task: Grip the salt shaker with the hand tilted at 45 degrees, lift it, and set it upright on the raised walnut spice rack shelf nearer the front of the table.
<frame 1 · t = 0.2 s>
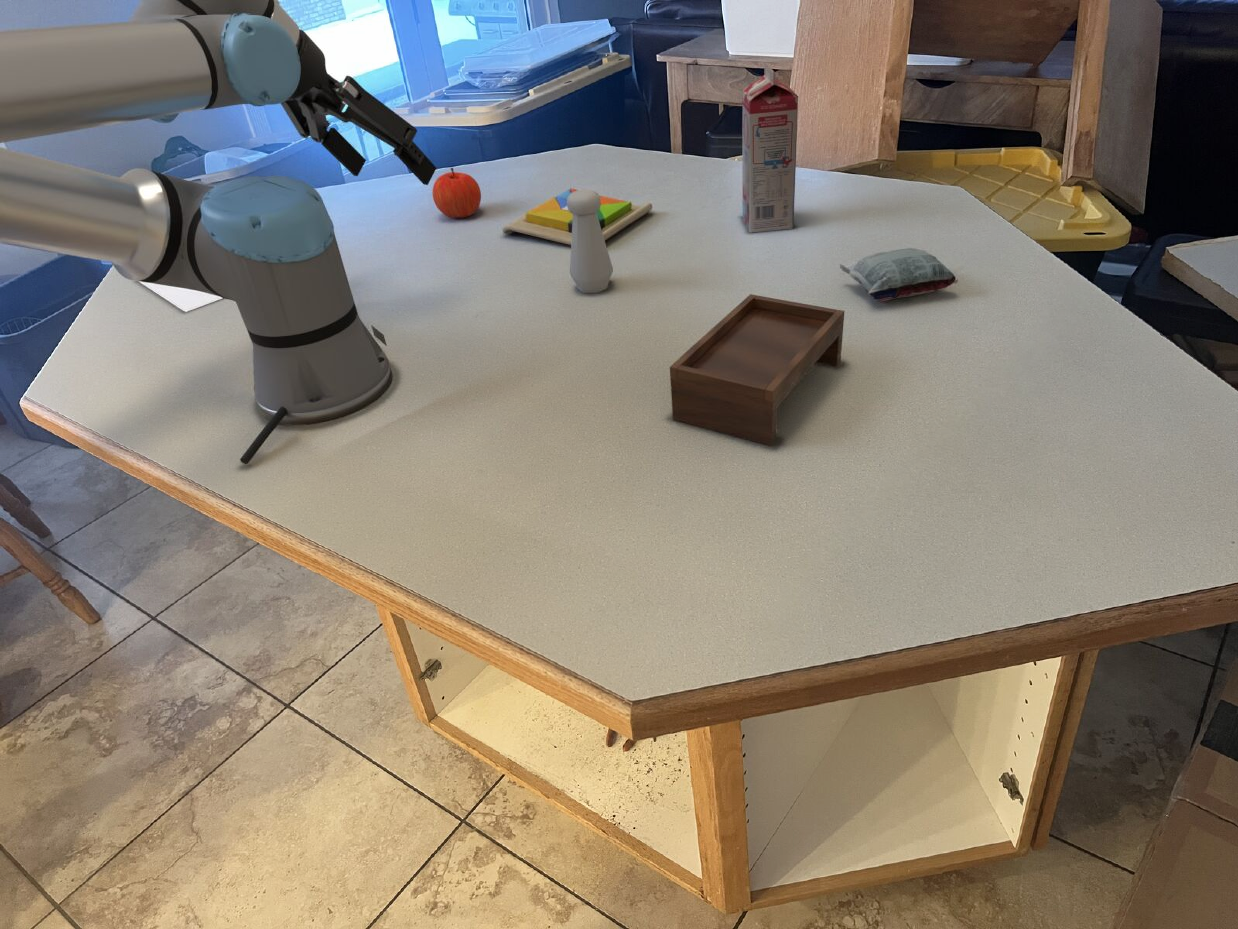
hand: (394, 172, 112), 15 cm above the table, tool tilted 35°, fingers open, 13 cm apart
juice carton: (767, 224, 126), on the table
salt shaker: (593, 288, 113), on the table
packaged food: (895, 291, 104), on the table
wooden puzzle: (578, 226, 133), on the table
teacup and saucer: (223, 273, 130), on the table
apple: (461, 216, 142), on the table
spice rack: (759, 389, 87), on the table
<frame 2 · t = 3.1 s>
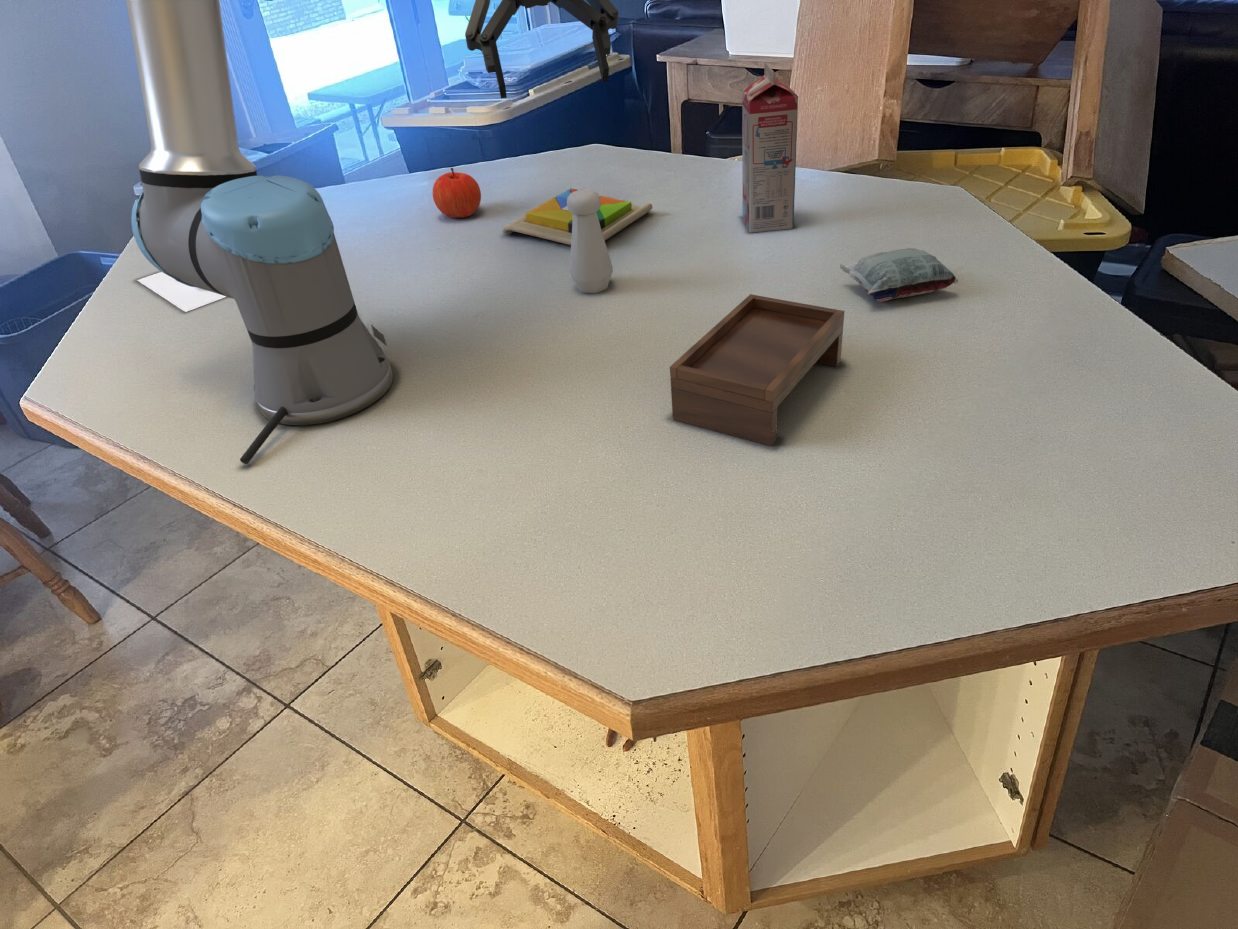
hand: (554, 83, 107), 24 cm above the table, tool tilted 45°, fingers open, 13 cm apart
nothing on the table moved.
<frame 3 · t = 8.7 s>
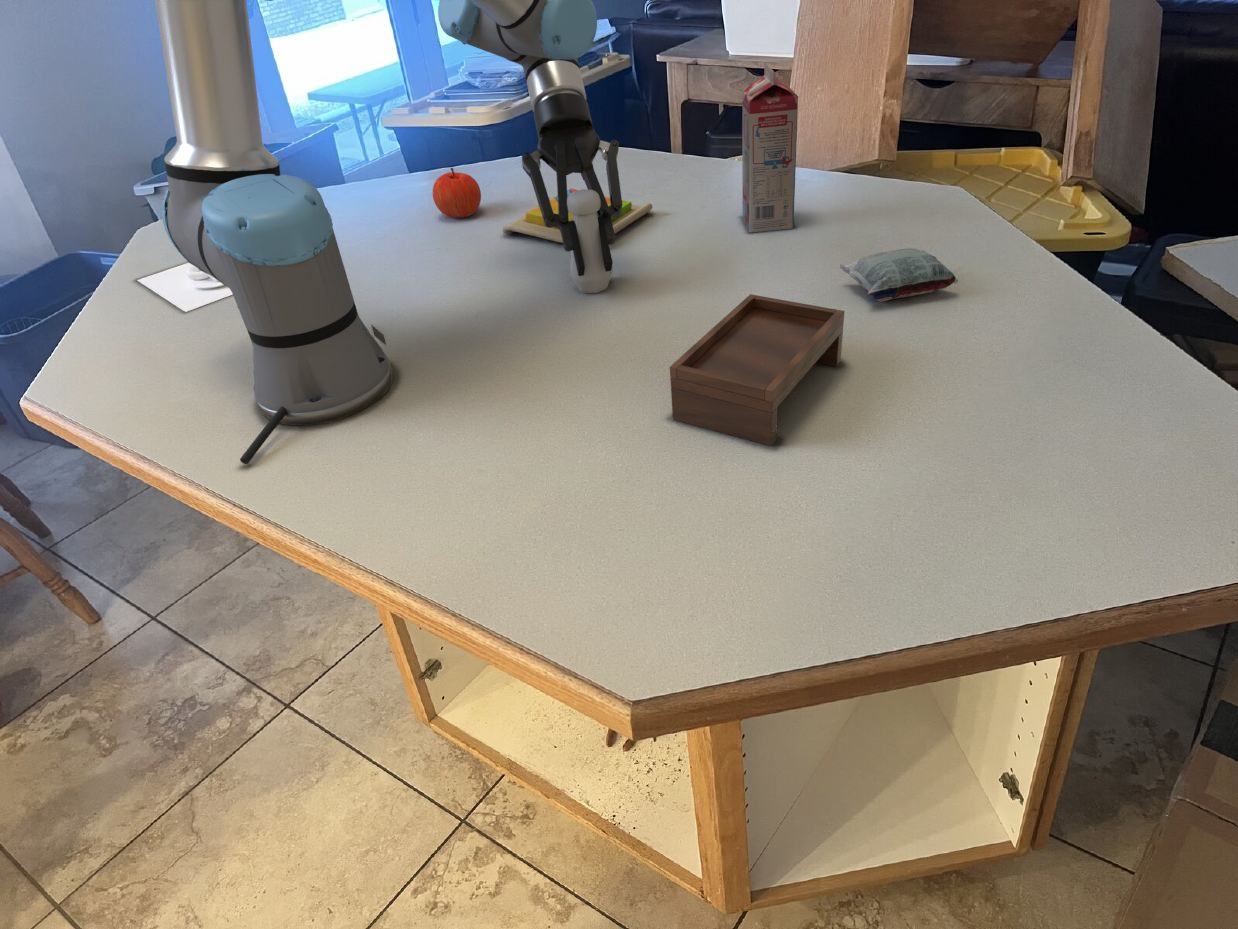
hand: (595, 268, 107), 4 cm above the table, tool tilted 45°, fingers closed on salt shaker, 3 cm apart
salt shaker: (593, 288, 113), on the table, touching gripper
everything else where it was.
when the fingers open (9 cm above the table, at t = 18.3 s): salt shaker stays where it is, resting on spice rack.
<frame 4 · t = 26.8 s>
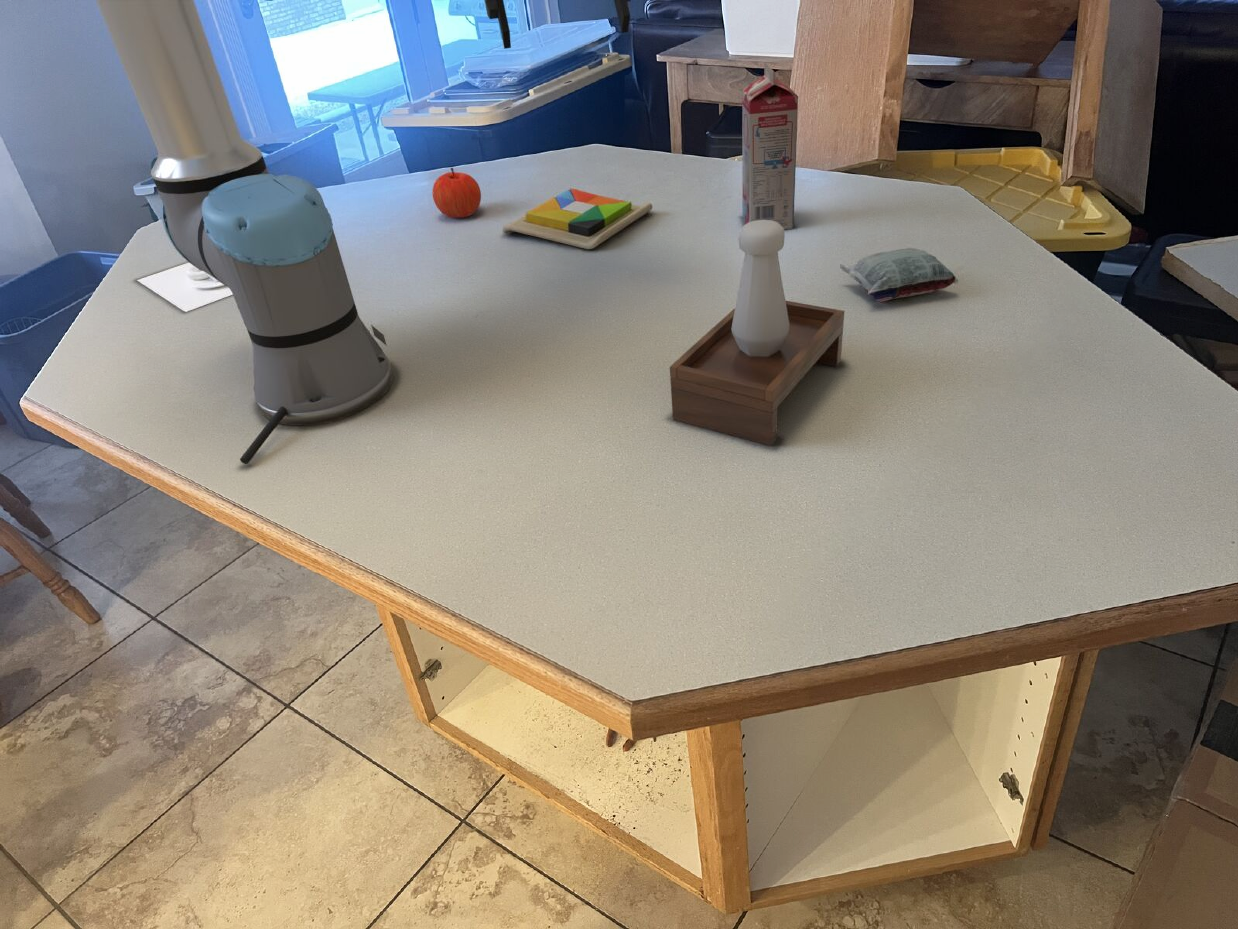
hand: (567, 32, 92), 32 cm above the table, tool tilted 45°, fingers open, 13 cm apart
salt shaker: (760, 349, 85), point 5 cm above the table, touching spice rack
everything else where it was.
at the end: salt shaker inside the target area on the spice rack (0.1 cm from its centre), point 4.8 cm above the spice rack's base; salt shaker tilted 0°; the gripper is holding nothing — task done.
